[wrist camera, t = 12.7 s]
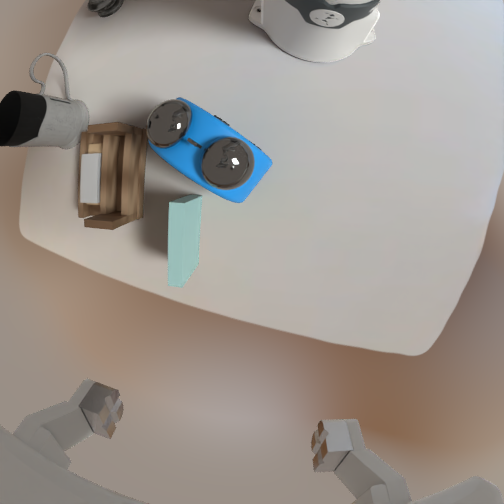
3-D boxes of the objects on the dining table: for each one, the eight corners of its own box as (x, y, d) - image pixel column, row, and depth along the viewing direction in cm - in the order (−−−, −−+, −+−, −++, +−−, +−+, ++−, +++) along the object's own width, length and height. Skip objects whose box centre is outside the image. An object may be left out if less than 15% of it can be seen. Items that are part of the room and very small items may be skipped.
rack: (94, 133, 34) (60, 129, 26) (148, 129, 34) (119, 122, 26) (90, 213, 38) (58, 224, 30) (143, 217, 38) (114, 230, 30)
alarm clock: (171, 144, 35) (117, 133, 21) (196, 109, 33) (156, 76, 19) (245, 198, 37) (232, 216, 22) (273, 162, 35) (278, 156, 21)
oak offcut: (94, 144, 34) (88, 144, 32) (111, 143, 34) (105, 143, 32) (92, 202, 36) (86, 204, 35) (108, 203, 36) (102, 205, 35)
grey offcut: (88, 154, 33) (81, 154, 31) (104, 153, 32) (98, 153, 31) (86, 201, 35) (80, 202, 33) (102, 201, 35) (96, 203, 33)
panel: (189, 194, 37) (169, 202, 29) (202, 195, 37) (184, 203, 29) (186, 262, 40) (168, 285, 32) (198, 263, 40) (182, 287, 32)
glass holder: (48, 143, 35) (-14, 144, 21) (75, 68, 31) (18, 48, 17) (78, 154, 36) (12, 157, 21) (109, 73, 31) (51, 46, 17)
